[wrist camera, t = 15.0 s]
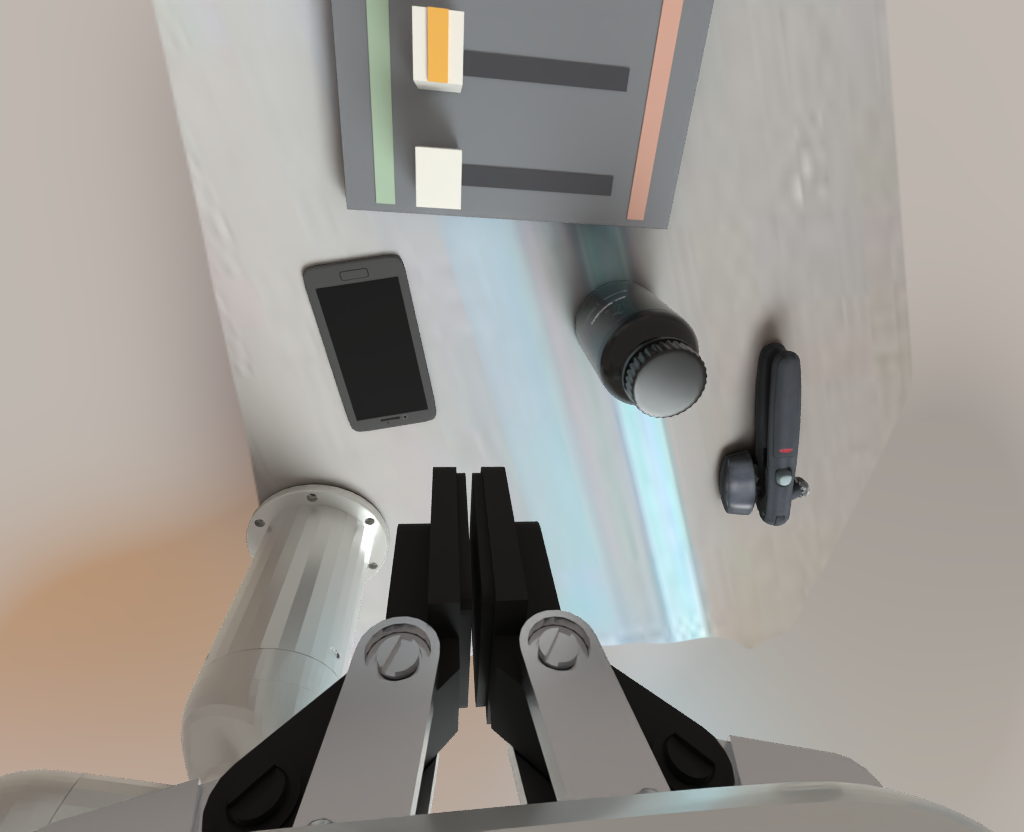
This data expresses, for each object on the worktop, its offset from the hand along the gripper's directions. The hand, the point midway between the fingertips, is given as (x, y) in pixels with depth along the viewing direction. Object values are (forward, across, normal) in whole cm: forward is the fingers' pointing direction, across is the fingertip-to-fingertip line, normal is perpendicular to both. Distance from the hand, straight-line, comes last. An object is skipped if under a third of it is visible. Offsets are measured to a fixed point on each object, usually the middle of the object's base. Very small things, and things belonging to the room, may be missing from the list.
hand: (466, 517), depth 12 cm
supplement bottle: (+29, -13, +4) cm, 32 cm away
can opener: (+29, -29, +14) cm, 43 cm away
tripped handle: (+27, +1, -12) cm, 29 cm away
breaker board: (+29, -4, -12) cm, 32 cm away
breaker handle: (+27, +1, -6) cm, 27 cm away
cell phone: (+30, +6, +7) cm, 31 cm away
